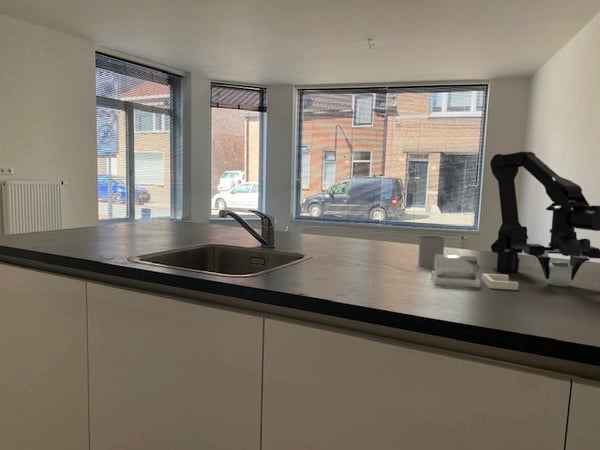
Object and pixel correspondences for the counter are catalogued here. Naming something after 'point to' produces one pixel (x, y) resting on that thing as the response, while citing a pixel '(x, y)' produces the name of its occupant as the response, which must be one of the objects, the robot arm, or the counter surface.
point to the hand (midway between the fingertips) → (558, 279)
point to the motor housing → (455, 271)
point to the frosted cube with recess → (559, 274)
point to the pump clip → (499, 281)
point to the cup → (430, 249)
